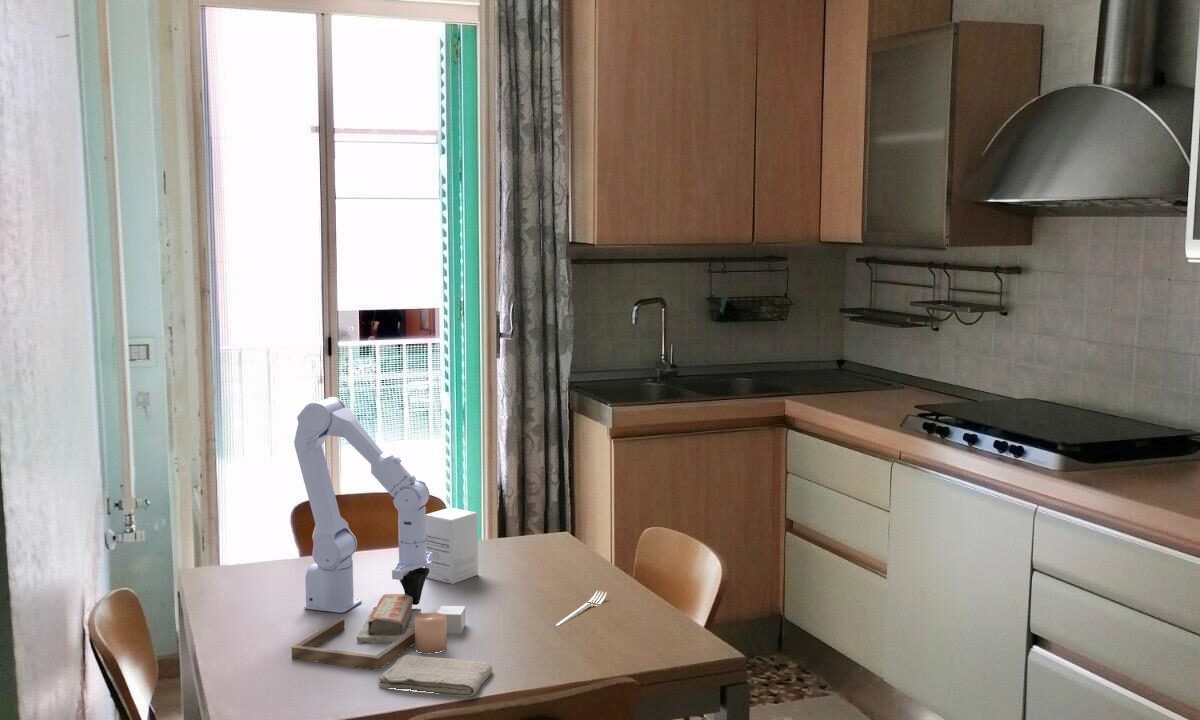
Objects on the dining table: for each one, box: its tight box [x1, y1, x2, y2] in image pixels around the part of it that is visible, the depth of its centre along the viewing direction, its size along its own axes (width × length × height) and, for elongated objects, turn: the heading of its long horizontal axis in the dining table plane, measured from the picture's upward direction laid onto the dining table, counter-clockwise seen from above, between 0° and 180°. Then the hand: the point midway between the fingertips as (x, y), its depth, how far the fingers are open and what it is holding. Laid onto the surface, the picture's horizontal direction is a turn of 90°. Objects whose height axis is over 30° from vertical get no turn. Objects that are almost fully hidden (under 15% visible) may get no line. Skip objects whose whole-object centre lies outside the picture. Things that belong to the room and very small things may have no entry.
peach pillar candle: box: [414, 612, 448, 653], centre depth 214 cm, size 6×6×6 cm
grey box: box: [436, 605, 467, 634], centre depth 224 cm, size 5×5×4 cm
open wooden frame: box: [291, 618, 415, 671], centre depth 213 cm, size 18×17×2 cm
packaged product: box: [356, 593, 422, 642], centre depth 225 cm, size 18×5×10 cm
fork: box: [555, 590, 608, 627], centre depth 235 cm, size 3×20×2 cm, turn 153°
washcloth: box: [378, 654, 493, 698], centre depth 198 cm, size 12×18×3 cm, turn 79°
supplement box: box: [424, 507, 479, 585], centre depth 259 cm, size 9×9×15 cm
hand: (413, 603), depth 235 cm, fingers closed
